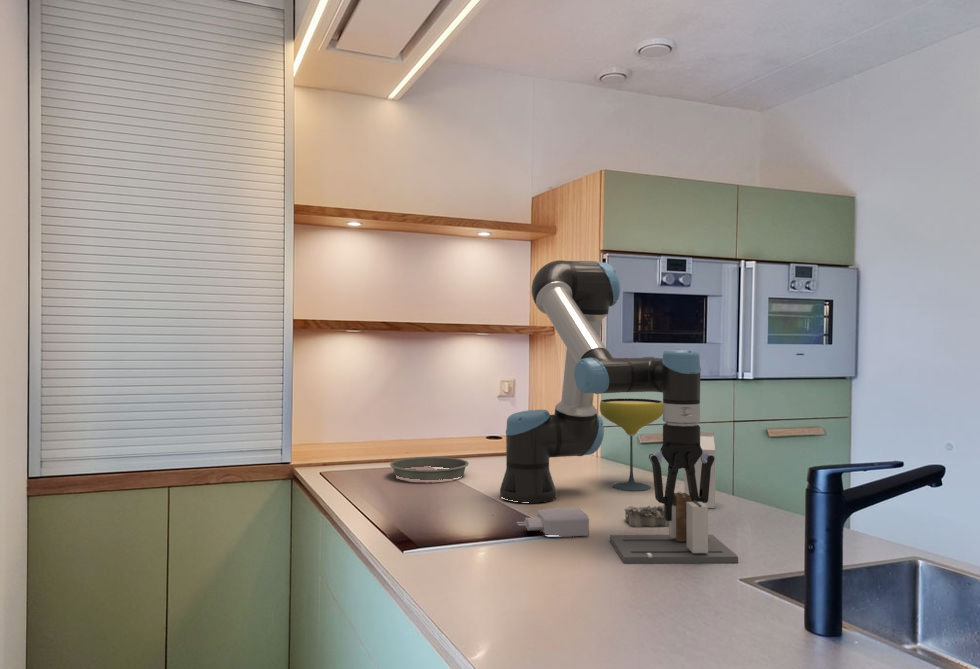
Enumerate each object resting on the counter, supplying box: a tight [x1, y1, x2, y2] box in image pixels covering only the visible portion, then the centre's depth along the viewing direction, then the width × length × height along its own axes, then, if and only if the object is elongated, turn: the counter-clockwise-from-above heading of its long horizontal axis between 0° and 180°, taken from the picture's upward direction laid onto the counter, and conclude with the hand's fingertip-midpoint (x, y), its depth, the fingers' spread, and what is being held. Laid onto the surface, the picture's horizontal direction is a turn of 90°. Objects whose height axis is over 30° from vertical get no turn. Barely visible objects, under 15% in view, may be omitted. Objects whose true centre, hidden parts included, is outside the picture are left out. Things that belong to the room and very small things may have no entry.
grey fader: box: [686, 500, 709, 553], centre depth 137 cm, size 3×4×9 cm
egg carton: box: [623, 504, 669, 528], centre depth 163 cm, size 11×8×4 cm
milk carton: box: [683, 431, 716, 509], centre depth 180 cm, size 7×7×19 cm
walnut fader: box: [673, 491, 692, 541], centre depth 145 cm, size 3×4×9 cm
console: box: [609, 534, 739, 564], centre depth 141 cm, size 22×15×2 cm
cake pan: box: [389, 456, 469, 480], centre depth 219 cm, size 25×25×4 cm
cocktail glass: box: [599, 398, 663, 492], centre depth 202 cm, size 18×18×25 cm
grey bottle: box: [516, 507, 590, 538], centre depth 155 cm, size 5×9×15 cm
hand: (681, 536), depth 145 cm, fingers closed on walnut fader, 3 cm apart
